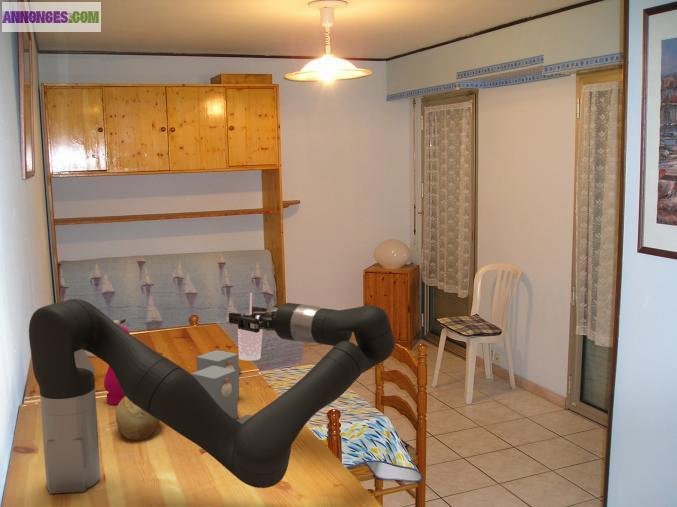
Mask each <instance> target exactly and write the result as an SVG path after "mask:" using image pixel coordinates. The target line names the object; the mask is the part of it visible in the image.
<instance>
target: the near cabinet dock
mask: <svg viewBox="0 0 677 507" xmlns="http://www.w3.org/2000/svg"><path fill="white" fill-rule="evenodd" d="M190 374H191V375H192V376H194V377H195V378H196V379H197V380H198V382H199V383H200V384H201V385H202V386H203V387H204V388H205V389H206V391H207V392H208V393H209V394H210V395H211V396H212V398H213V399H214V400H215V401H216V403H217V404H218V405H219V406H220V407H221V408H222V409H223V410H224V411H225V412H226V413H227V414H228V415H230V416H231V417H232V418H234V419H235V420H237V421H238V422H240V423H242V424H243V423H244V422H245V421H246V420H248V419H249V418H250V417H251V416H253V415H251V414H246V415H244V416H242V417H240V418H238V417H239V412H238V408H239V407H238V399H237V374H236V370H233V369H228V368H223V367H218V366H214V365H213V366H210V367H208V368H205V369H202V370H199V371H197V370H196V371H194V372H192V373H190Z"/></svg>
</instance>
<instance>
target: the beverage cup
mask: <svg viewBox="0 0 677 507" xmlns="http://www.w3.org/2000/svg"><path fill="white" fill-rule="evenodd" d="M252 307H253V292H249V314H252ZM259 316H260V315H257V319H259ZM263 330H264V329H260V332H258V333H255V332H251V331H246V330H242V329H238V328H237V339H238V340H237V342H238V343H237V344H238V347H237V348H238V360H241V361H258V360H260V359H261V355H262V344H263V343H262V342H263Z"/></svg>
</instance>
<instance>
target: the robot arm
mask: <svg viewBox="0 0 677 507" xmlns="http://www.w3.org/2000/svg"><path fill="white" fill-rule="evenodd" d="M257 315H260V316H259V319H257ZM113 321H114V320H112V319H111V318H110V317H108V316H107V314H105V313H104V312H103V311H102V310H100V309H99V308H98V307H96V306H94V305H93V304H92V303H91V302H89V301H86V300H83V299H80V298H79V299H78V298H73V299H72V298H71V299H67V300H63V301H59V302H55V303H51V304H47V305H43V306H42V307H39V308H37V309H36V310H35V311H34V312H33V313H32V315H31V317H30V321H29V325H28V338H29V339H28V340H29V347H30V354H31V362H32V369H33V370H32V371H33V376H34V378H35V381H36V383H37V385H38V387H39V397H40V398H39V399H40V409H41V410H40V412H41V428H42V430H41V431H42V439H43V440H42V441H43V454H44V456H43V457H44V466H45V468H44V470H45V482H46V484H45V486H46V488H47V490H48V493H49V494H52V495H53V494H65V493H69V494H70V493H82V492H86V491H87V489H88V488H91V487H93V486H94V485H96V484H97V483H98V482H99V481H100V479H101V465H100V464H101V463H100V447H99V432H98V414H97V412H98V411H97V397H96V380H95V375H94V374H95V373H94V374H93V373H92V372H91V371H90V370H88V369H84V368H77V367H76V363H75V357H74V352H75V351H78V350H81V349H82V350H86V351H88V352H90V353H92V354H94V355H95V356H97V357H96V358H98V359H100V360H101V361H103V362H105V363H106V364H107V365H108V367H109V366H110V367H111V368H112V370H113V371H114V373H115V376H116V378H117V381H118V383H119V385H120V387H121V389H122V391H123V393H124V394H125V396H126V397H127V398H128V399H129V400H130V401H131V402H133V403H134V404H135V405H137V406H138V407H139V408H141V409H142V410H144V411H145V412H147V413H148V414H150V415H151V416H153V417H154V418H156V419H158V420H159V422H161V423H163V424H165V425H166V426H168V427H169V428H170V429H172V430H173V431H175V432H176V433H178V434H179V435H180V436H182V437H184V438H185V439H187V440H189V441H190V442H192V443H193V444H195V445H197V446H198V447H199V448H201V449H202V450H203V451H205V452H206V453H207V454H208V455H210V456H211V457H212V458H214V459H215V461H217V462H218V463H219V464H221V466H223V467H224V468H225V469H226V470H227V471H229V472H230V473H231V474H232V475H233V476H234V477H235V478H237V479H238V480H239V481H240V482H242V484H243V483H244V484H245V485H248V486H249V487H252V488H257V489H266V488H271V487H273V486H276V485H278V484H279V483H280V482H281V481H282V480H283V478H284V477H285V475H286V473H287V470H288V468H289V462H290V457H291V450H292V445H293V444H294V442H295V441H296V438H297V437H298V435H299V434H300V432H301V431H302V430H303V428H304V427H305V426H306V424H308V422H309V421H310V419H311V418H312V417H313V416H314V415H316V414H318V412H320V411H321V410H322V409H324V408H326V407H327V406H329V405H330V404H332V403H333V402H335V401H337V400H338V399H339V398H340V397H341V396H342V395H344V394H345V393H346V392H347V391H348V390H349V388H350V387H351V386H352V385H354V383H355V382H356V381H357V379H359V377H361V375H362V374H364V373H366V372H367V371H369V370H370V369H371V370H372V368H374V367H376V366H378V365H380V364H381V363H383V362H385V361H386V360H387V359H389V358H390V357H391V356H392V354H393V352H394V351H395V350H394V349H395V346H396V340H395V336H394V334H393V330H392V329H393V328H392V326H391V323H390V322H391V321H390V319H389V316H388V314H387V312H386V311H385V309H383V308H381V307H380V306H377V305H373V304H368V305H362V306H358V307H357V306H356V307H351V308H347V309H332V308H323V307H320V306H316V305H312V304H303V303H302V304H301V303H295V302H294V303H293V302H285V303H283V304H282V305H280V306H279V305H273V306H272V307H269V306H266V307H259V306H252V314H250V313H240V312H239V313H238V312H233V311H231V312H229V313H228V323H230V324H233V325H237V330H238V329H242V330H246V331H251V332H255V333H258V332H260V329H263V330H265V331H271V332H272V331H274V332H275V333H276V335H277V336H278V337H279V338H280V339H281V340H286V341H293V342H296V343H297V342H298V343H304V344H305V343H306V344H311V345H312V344H313V345H314V344H317V345H319V344H320V345H326V346H332V348H331V349H330V350H329V351H328V352H327V353H326V354H324V356H322V358H321V359H320V360H319V361H318V362H317V363H316V364H315V365H314V366H313V367H312V368H311V369H310V370H309V371H308V372H306V374H305V375H304V376H303V377H301V379H299V380H298V381H297V382H296V383H295V384H294V385H292V386H291V387H290V388H289V389H286V391H285V392H284V393H282V394H281V395H280V396H278V397H277V398H276V399H274V400H273V401H271V402H270V403H268V404H267V405H266V406H264V407H263V408H261V409H260V410H259V411H257V412H256V413H254V414H253V415H252V416H251V417H250V418H249V419H248V420H246V421H245V422H244V423H243V424H242V423H240V422H238V421H237V419H236V418H235V419H234V418H232V417H231V416H230V415H228V414H227V413H226V412H225V411H224V410H223V409H222V408H221V407H220V406H219V405H218V404H217V403H216V401H215V400H214V399H213V398H212V396H211V395H210V394H209V393H208V392H207V391H206V389H205V388H204V387H203V386H202V385H201V384H200V383H199V382H198V380H197V379H196V378H195V377H194V376H192V375H191V373H190V372H189V371H187V370H186V369H185V368H183V367H182V366H180V365H178V364H177V363H175V362H174V361H173V360H171V359H169V358H168V357H166V356H165V355H163V354H161V353H159V352H157V351H156V350H155V349H152V348H151V347H150V346H148V345H146V344H145V343H144V342H142V341H141V340H139V339H137V337H135V336H133V335H132V334H129V333H130V332H129V333H127V332H126V331H125V330H123V329H122V328H121V327H119V326H118V325H117V324H116V323H114V322H113ZM352 335H354V338H355V341H356V344H357V345H356V344H355V343H354V342H352V341H351V339H352Z"/></svg>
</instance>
